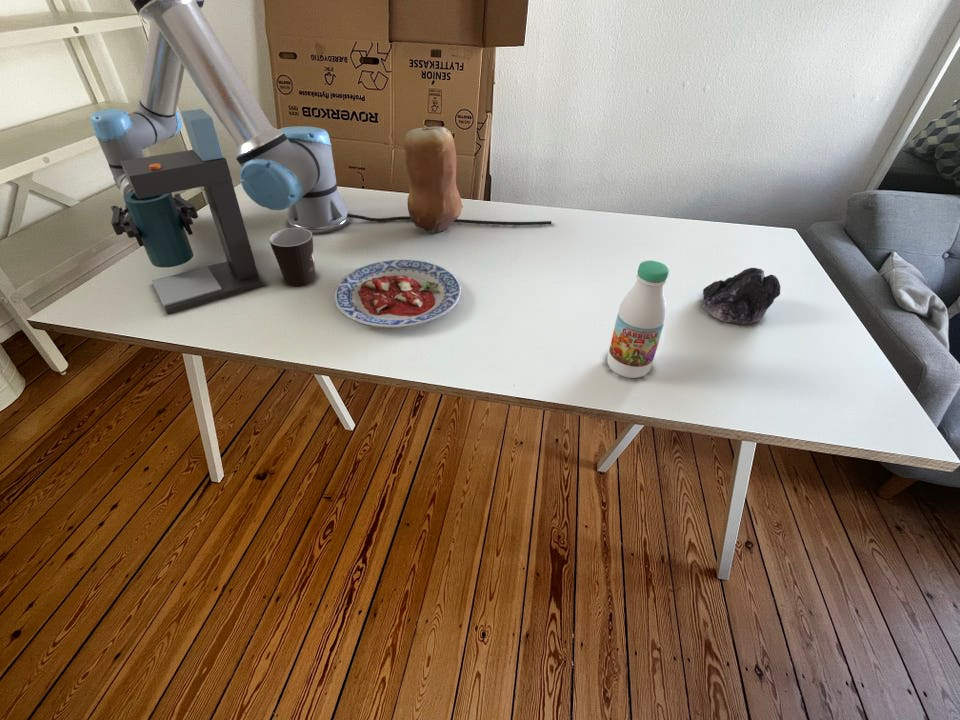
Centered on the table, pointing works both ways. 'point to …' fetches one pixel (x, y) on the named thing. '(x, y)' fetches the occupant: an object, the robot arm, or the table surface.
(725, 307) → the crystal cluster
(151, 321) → the table surface
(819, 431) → the table surface
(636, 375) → the milk bottle
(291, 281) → the coffee mug
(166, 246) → the teal tumbler
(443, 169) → the butternut squash
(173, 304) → the coffee maker
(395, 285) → the ceramic plate
